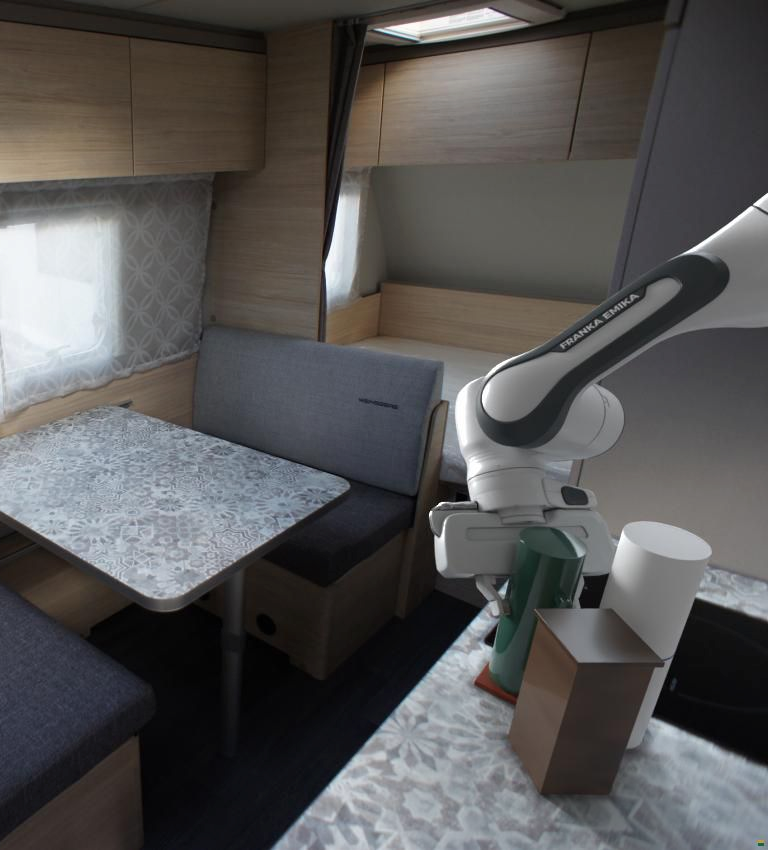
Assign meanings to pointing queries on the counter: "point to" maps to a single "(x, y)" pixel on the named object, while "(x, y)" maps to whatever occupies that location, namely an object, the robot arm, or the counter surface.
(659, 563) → the cylindrical container
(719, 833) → the counter surface
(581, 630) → the stand
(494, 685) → the pad
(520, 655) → the jug
